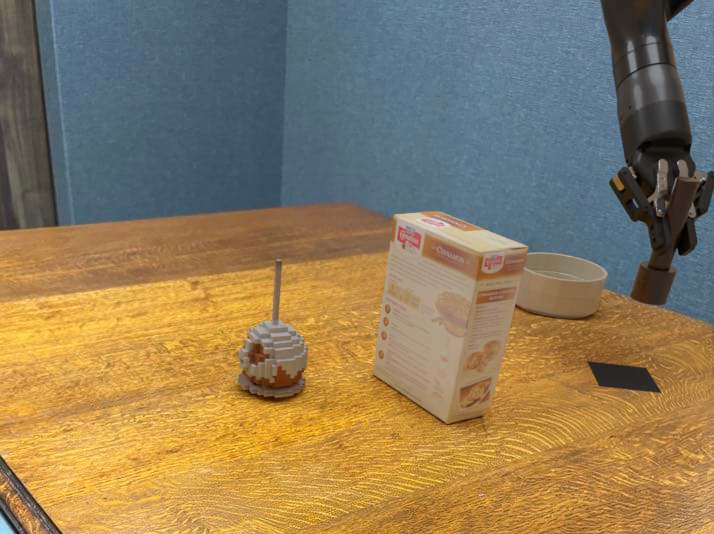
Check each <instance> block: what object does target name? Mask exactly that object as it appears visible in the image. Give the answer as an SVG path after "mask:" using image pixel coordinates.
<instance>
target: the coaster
mask: <svg viewBox="0 0 714 534" xmlns="http://www.w3.org/2000/svg"><path fill="white" fill-rule="evenodd" d="M587 364H588V366H589V368H590V371H591V372H592V374H593V376H594V379H595V380H596V383H597V385H598V386H599V387H601V388H602V387H603V388H610V389H611V388H612V389H622V390H630V391H638V392H649V393H656V394H657V393H658V394H662V391H661V389H660V388H659V385H658V384H657V382H656V381H655V379H654V378H653V377H652V375H651V373H650V372H649V370H648V368H647V367H645V366H644V367H643V366H634V365H627V364H626V365H625V364H617V363H608V362H607V363H606V362H600V361H599V362H598V361H590V360H587Z"/></svg>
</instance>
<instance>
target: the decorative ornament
mask: <svg viewBox="0 0 714 534" xmlns="http://www.w3.org/2000/svg"><path fill="white" fill-rule="evenodd" d="M274 261H275V262H274V278H273V279H274V280H273V299H272V316H271V320H263V321H260V322H258V324H257V325H256V326H253V327H249V330H247V337H245V341H244V344H242V348H240V350H239V351H238V362H239V367H240V369H241V373H238V378H237V383H238V384H239V386H240V387H241V389H243V390H244V391H249V393H251V394H252V395H255V394H257V396H263V397H264V398H268V397H274V398H275V399H277V398H278V399H279V398H286V397H294V394H299V393H301V391H303V390H304V389H305V388H306V377H304V375H303V374H304V373H305V371H307V366H308V356H309V347H308V346H307V345H306V344H305V338H304V337H303V336H302V335H301V334H300V333H299V332H298V331H297V330H296V329H295V328H294V327H293V326H292V325H291V324H290V323H284V322H283V320H281V319H280V304H281V287H282V270H283V260H282V259H280V258H278V259H277V258H276V259H275V260H274ZM303 388H304V389H303Z"/></svg>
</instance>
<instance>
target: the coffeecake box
mask: <svg viewBox="0 0 714 534" xmlns="http://www.w3.org/2000/svg"><path fill="white" fill-rule="evenodd" d="M529 249H530V247H529V246H528V245H526V244H523V243H520V242H518V241H516V240H513V239H510V238H507V237H505V236H502V235H500V234H498V233H495V232H492V231H490V230H487V229H485V228H482V227H480V226H478V225H475V224H473V223H470V222H467V221H466V220H462V219H460V218H457V217H454V216H452V215H450V214H448V213H444V212H442V211H439V210H432V211H418V212H407V213H395V214H393V219H392V228H391V236H390V242H389V249H388V256H387V257H388V258H387V264H386V272H385V279H384V287H383V293H382V301H381V309H380V315H379V323H378V329H377V336H376V337H377V338H376V346H375V352H374V360H373V366H372V375H373V376H375V377H376V378H378V379H379V380H381V381H382V382H384V383H386V384H387V385H388V386H390V387H391V388H393V389H395V391H397V392H399V393H400V394H402V395H403V396H405V397H407V398H408V399H410V400H411V401H412V402H414V403H415V404H417V405H418V406H420V407H421V408H423V409H424V410H425V411H427V412H429V413H430V414H432V415H433V416H435V417H436V418H438V419H439V420H441V421H442V422H444V424H446V425H449V424H453V423H457V422H461V421H464V420H470V419H475V418H480V417H483V416H484V415H483V414H486V413H490V412H491V411H492V408H493V407H492V406H493V402H494V398H495V394H496V389H497V385H498V381H499V376H500V373H501V367H502V364H503V359H504V355H505V351H506V347H507V343H508V338H509V334H510V329H511V325H512V320H513V317H514V311H515V308H516V300H517V295H518V291H519V287H520V283H521V278H522V274H523V270H524V265H525V261H526V257H527V253H529Z"/></svg>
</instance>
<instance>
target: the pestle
mask: <svg viewBox="0 0 714 534" xmlns="http://www.w3.org/2000/svg"><path fill="white" fill-rule="evenodd" d="M699 182H700V181H699V180H697V179H695V178H690V177H682V176H680V177H676V179H675V182H674V185H673V189H672V192H671V195H670V198H669V201H668V204H667V207H666V206H665V208H666V214H665V216H664V217H663V218H667V219H668V224H669V230H670V236H671V242H672V247H671V249H670V250H669V251H668V252H666V253H665V254H664V255H655V251H654V250H653V249H652V251H651V253H650V257H649V259H648V260H643V261H641V262H640V263H639V266H638V268H637V269H638V270H637V272H636V275H635V278H634V281H633V285H632V288H631V291H630V294H629V297H630V298H631V299H632V300H634V301H636V302H639V303H641V304H645V305H649V306H650V305H651V306H663V305H666V304H667V302H668V300H669V297H670V294H671V291H672V288H673V286H674V282H675V280H676V277H677V274H678V268H677V267H675V266H674V265H672V264H673V262H674V259H675V255H676V252H677V251H678V249H677V247H678V244H679V241H680V238H681V235H682V232H683V229H684V226H685V223H686V220H687V217H688V214H689V212H690V209H691V206H692V203H693V200H694V197H695V194H696V191H697V188H698V185H699Z"/></svg>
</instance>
